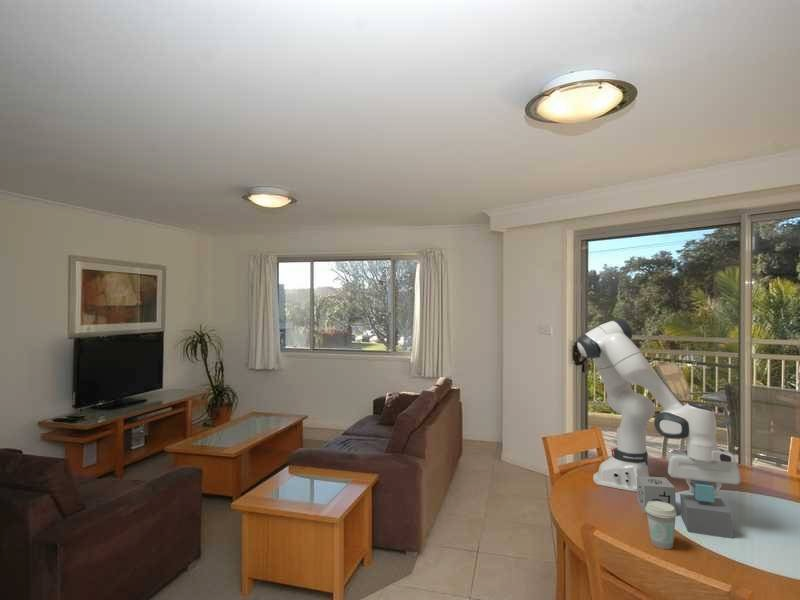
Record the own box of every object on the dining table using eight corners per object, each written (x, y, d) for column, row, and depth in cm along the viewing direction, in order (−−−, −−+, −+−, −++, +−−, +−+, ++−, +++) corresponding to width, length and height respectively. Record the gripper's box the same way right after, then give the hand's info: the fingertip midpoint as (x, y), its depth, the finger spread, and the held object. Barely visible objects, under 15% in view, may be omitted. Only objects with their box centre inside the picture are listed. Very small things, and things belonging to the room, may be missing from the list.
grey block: (688, 532, 146) (686, 507, 146) (681, 516, 157) (680, 493, 158) (732, 538, 142) (730, 512, 142) (721, 522, 153) (720, 498, 153)
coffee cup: (640, 538, 143) (639, 500, 143) (665, 537, 143) (664, 499, 144) (658, 552, 134) (656, 512, 135) (684, 550, 135) (683, 510, 135)
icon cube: (676, 516, 158) (675, 487, 158) (645, 513, 160) (644, 485, 160) (666, 504, 167) (665, 477, 168) (637, 502, 170) (636, 475, 170)
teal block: (696, 500, 148) (696, 485, 149) (693, 494, 153) (692, 479, 153) (714, 502, 146) (713, 487, 147) (710, 496, 151) (710, 481, 151)
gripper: (667, 451, 151) (669, 492, 151) (740, 458, 143) (742, 501, 143) (664, 446, 157) (666, 486, 157) (735, 452, 149) (736, 494, 149)
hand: (703, 493), depth 150 cm, fingers closed on teal block, 5 cm apart
